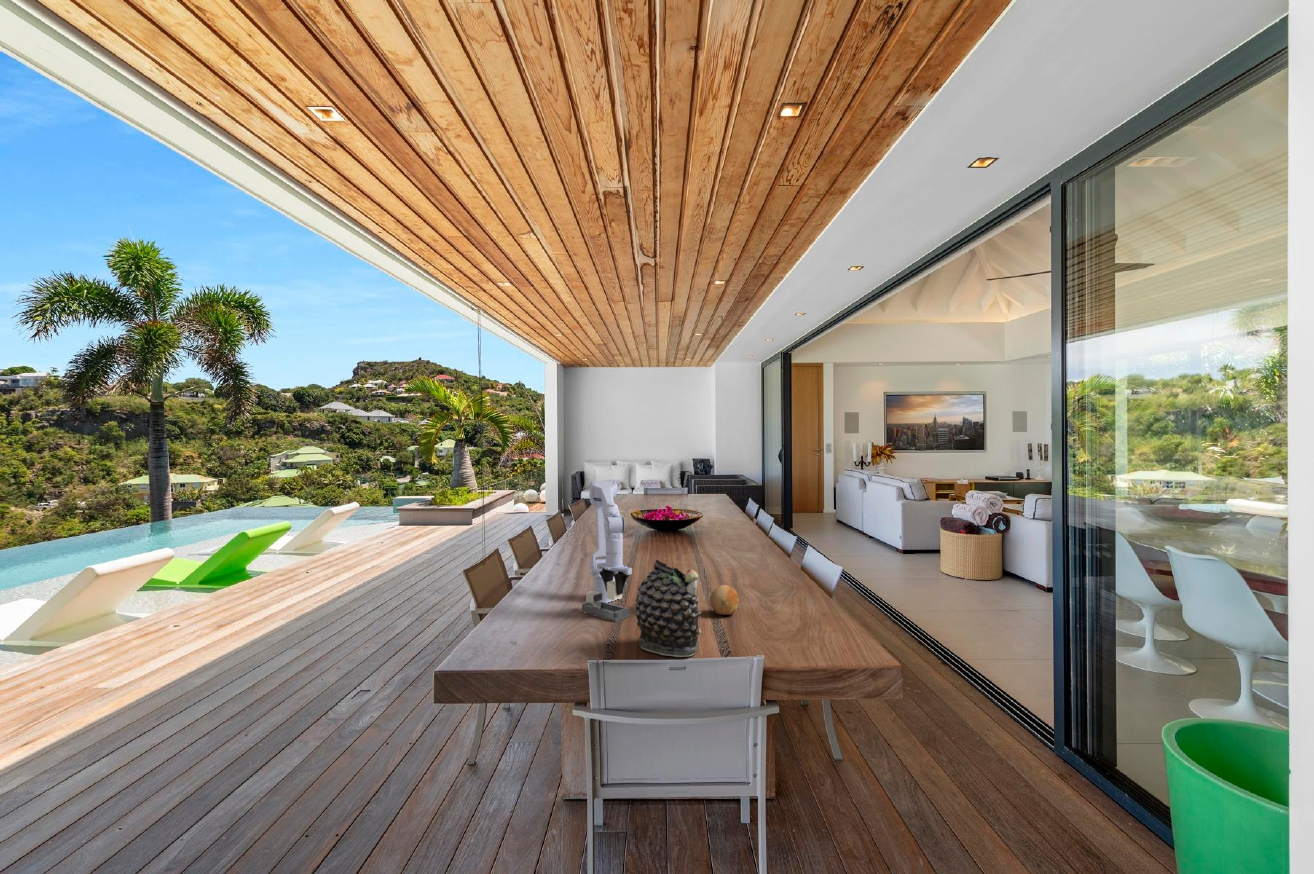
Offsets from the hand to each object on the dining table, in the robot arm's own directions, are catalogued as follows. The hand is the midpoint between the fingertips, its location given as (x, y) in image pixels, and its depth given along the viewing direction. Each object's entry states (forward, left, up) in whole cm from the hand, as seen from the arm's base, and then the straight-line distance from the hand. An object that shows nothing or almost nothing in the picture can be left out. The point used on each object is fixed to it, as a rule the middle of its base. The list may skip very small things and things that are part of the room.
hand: (614, 592), depth 198 cm
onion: (-26, +27, -8) cm, 38 cm away
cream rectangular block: (0, 0, -2) cm, 2 cm away
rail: (0, -4, -8) cm, 9 cm away
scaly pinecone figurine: (+12, +33, -8) cm, 36 cm away
